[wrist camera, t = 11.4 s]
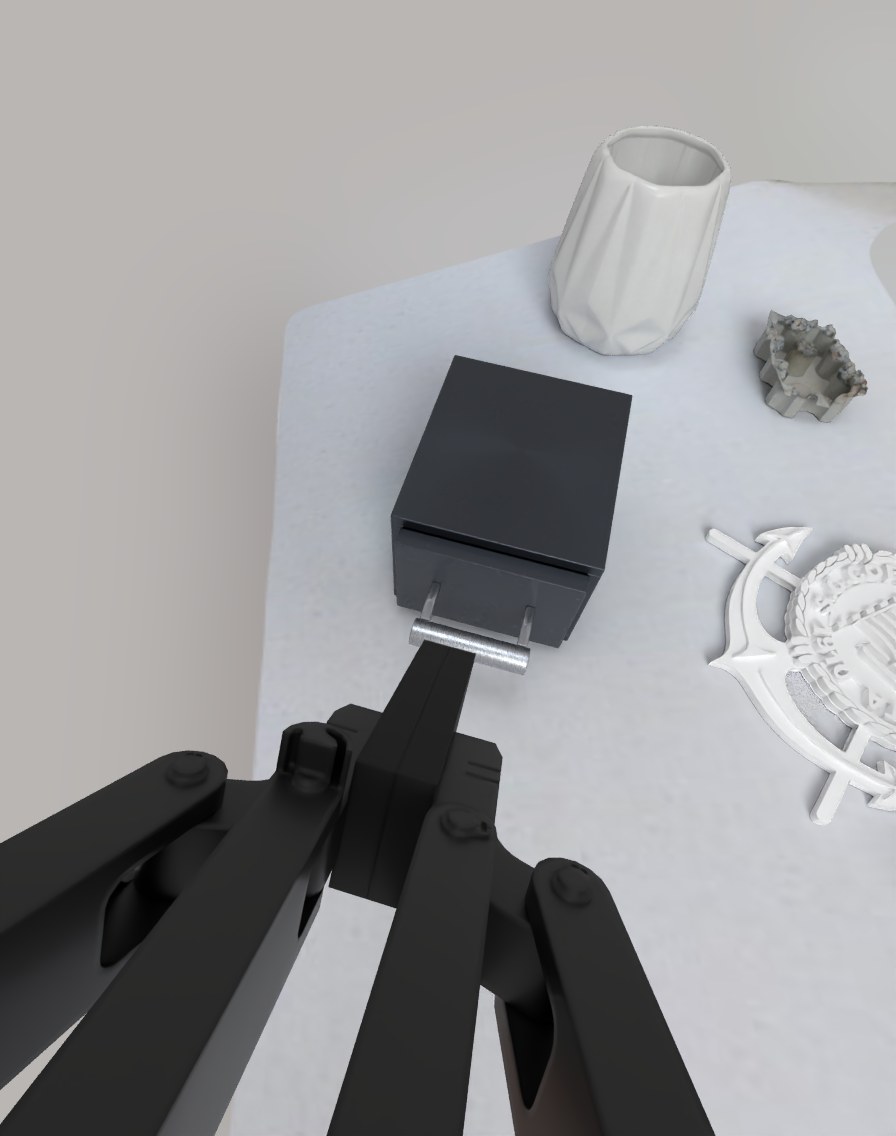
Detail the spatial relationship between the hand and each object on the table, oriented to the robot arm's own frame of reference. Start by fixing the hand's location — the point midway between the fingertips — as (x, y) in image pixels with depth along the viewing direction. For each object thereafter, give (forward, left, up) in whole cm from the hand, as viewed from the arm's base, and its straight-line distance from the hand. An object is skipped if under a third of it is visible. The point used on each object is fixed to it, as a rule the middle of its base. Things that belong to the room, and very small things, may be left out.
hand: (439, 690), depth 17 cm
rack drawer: (-16, +7, -21) cm, 27 cm away
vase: (-43, +25, -22) cm, 54 cm away
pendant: (-6, +35, -22) cm, 42 cm away
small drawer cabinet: (-19, +9, -22) cm, 31 cm away
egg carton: (-33, +40, -22) cm, 56 cm away
